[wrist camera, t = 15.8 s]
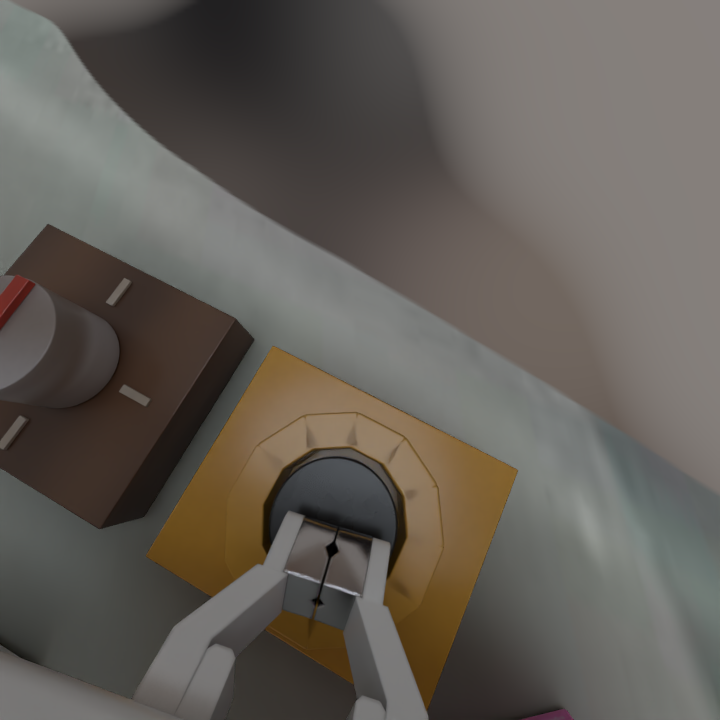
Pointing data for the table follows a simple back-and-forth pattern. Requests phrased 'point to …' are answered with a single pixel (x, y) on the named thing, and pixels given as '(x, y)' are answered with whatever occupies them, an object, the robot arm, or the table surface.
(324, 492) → the button
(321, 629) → the control box
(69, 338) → the knob
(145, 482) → the dial panel
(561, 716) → the gum box
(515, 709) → the table surface
